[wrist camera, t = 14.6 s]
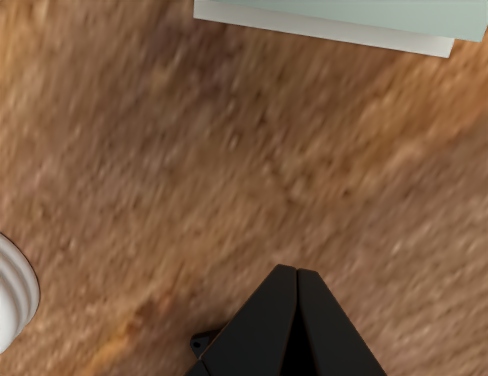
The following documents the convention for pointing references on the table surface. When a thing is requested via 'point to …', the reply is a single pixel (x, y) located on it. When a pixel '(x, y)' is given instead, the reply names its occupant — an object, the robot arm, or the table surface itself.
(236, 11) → the vise bed
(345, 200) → the table surface
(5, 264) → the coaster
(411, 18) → the block
